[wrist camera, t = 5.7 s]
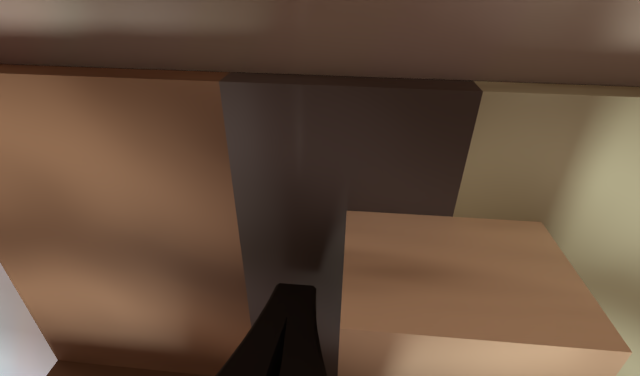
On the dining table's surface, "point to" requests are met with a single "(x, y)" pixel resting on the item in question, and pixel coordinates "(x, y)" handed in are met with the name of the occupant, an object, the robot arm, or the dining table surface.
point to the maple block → (467, 301)
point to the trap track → (282, 196)
